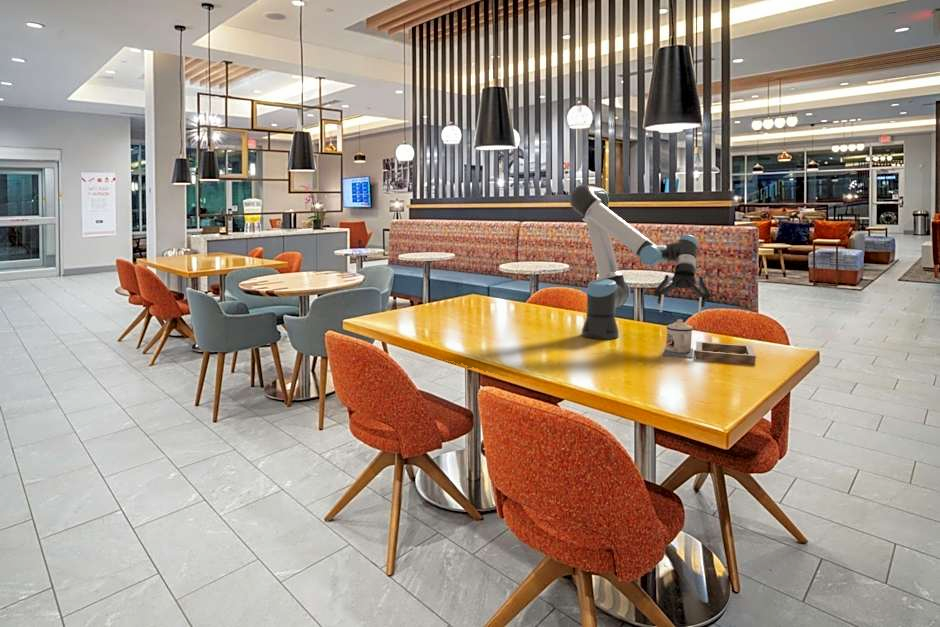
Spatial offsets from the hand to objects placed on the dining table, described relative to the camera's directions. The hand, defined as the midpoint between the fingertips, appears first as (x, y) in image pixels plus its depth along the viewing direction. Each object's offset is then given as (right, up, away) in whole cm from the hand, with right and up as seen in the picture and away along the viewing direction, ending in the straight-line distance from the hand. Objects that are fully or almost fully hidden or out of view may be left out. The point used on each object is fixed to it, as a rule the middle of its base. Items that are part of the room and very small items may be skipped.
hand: (679, 311), depth 219 cm
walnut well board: (+13, -16, -9) cm, 22 cm away
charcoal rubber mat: (-2, -15, -3) cm, 16 cm away
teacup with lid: (-1, -15, -3) cm, 15 cm away
